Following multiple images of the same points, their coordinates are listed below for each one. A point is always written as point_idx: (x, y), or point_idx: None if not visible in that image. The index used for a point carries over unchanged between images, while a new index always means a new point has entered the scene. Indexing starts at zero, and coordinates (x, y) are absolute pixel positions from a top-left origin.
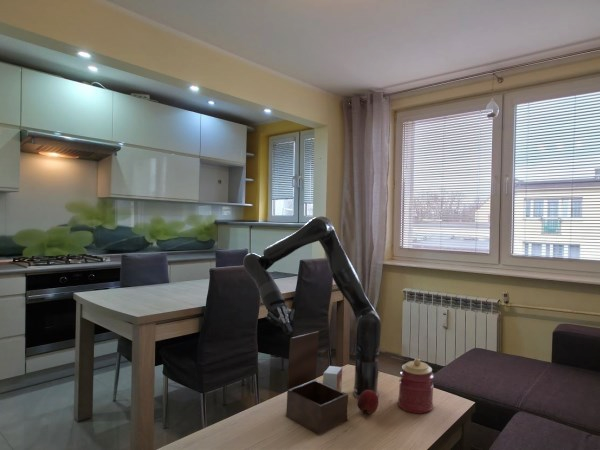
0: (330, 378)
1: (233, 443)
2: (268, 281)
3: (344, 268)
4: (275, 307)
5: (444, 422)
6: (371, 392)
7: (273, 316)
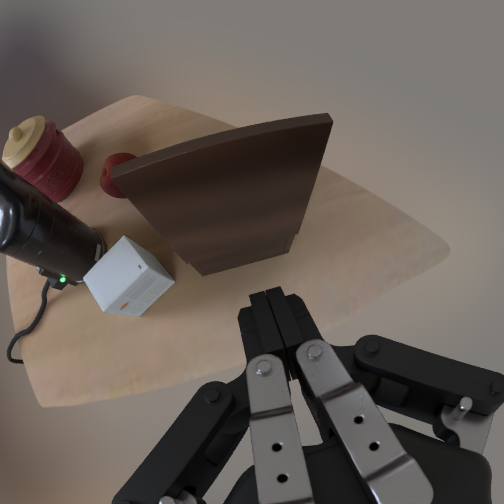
0: (141, 252)
1: (399, 209)
2: None
3: None
4: None
5: (78, 125)
6: (113, 156)
7: (450, 378)
